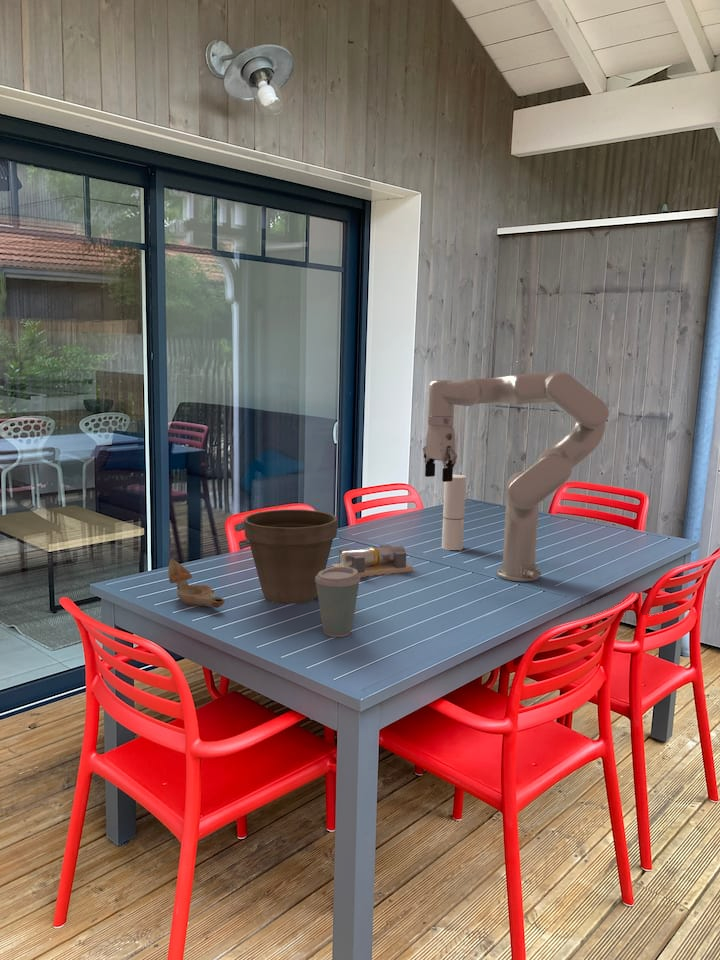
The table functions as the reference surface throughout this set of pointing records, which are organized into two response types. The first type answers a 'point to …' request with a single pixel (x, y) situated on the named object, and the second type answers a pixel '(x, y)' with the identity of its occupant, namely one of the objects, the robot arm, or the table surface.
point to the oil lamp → (192, 588)
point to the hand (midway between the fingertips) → (438, 478)
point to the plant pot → (290, 551)
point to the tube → (371, 555)
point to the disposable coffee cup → (337, 599)
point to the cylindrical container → (454, 513)
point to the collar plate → (363, 571)
